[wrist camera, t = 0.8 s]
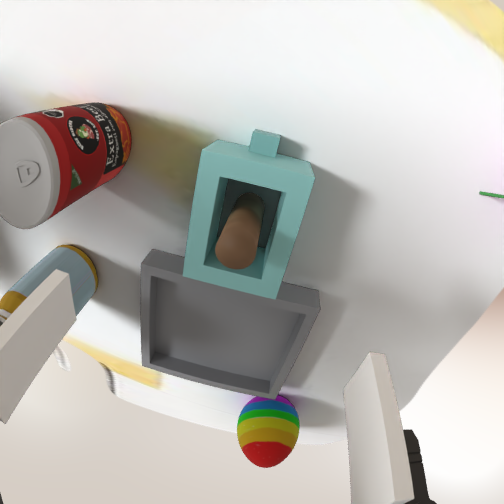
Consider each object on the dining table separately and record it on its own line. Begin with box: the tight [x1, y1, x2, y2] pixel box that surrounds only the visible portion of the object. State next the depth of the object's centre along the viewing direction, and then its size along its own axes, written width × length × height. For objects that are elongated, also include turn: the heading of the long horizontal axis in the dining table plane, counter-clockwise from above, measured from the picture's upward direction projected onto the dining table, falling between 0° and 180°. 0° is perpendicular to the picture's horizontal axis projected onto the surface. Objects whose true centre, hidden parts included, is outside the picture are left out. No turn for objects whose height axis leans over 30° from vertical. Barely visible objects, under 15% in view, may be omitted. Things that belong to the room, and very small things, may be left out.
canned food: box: [0, 103, 131, 229], centre depth 19 cm, size 8×8×11 cm
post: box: [215, 193, 265, 270], centre depth 22 cm, size 2×2×8 cm
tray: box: [140, 249, 320, 399], centre depth 31 cm, size 16×15×3 cm
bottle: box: [0, 245, 98, 323], centre depth 25 cm, size 7×7×15 cm
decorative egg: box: [237, 395, 299, 468], centre depth 35 cm, size 8×8×10 cm
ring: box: [183, 129, 315, 299], centre depth 23 cm, size 8×12×5 cm, turn 167°
